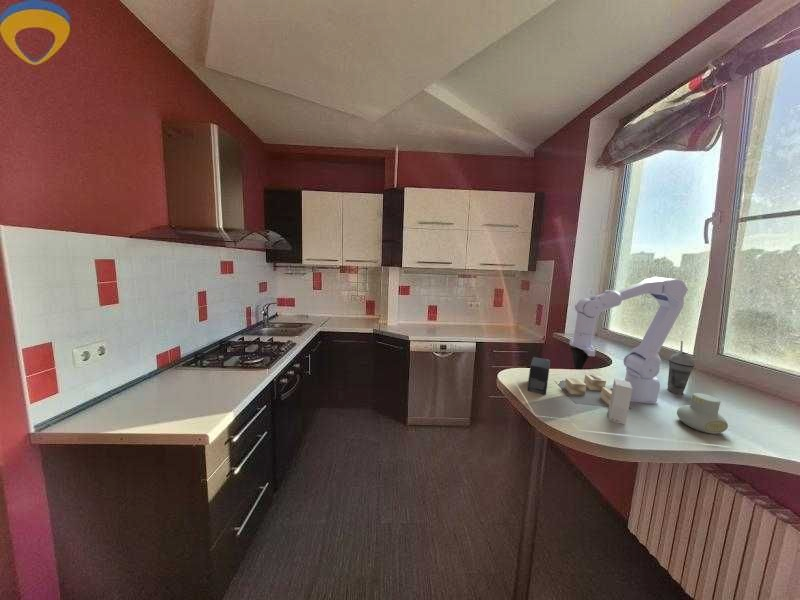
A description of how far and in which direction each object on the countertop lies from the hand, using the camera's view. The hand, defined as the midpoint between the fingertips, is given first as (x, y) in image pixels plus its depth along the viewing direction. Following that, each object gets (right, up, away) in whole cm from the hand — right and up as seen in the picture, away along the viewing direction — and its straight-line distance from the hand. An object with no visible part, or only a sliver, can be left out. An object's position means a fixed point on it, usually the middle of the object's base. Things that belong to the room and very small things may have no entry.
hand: (578, 368), depth 108 cm
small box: (-13, -9, +3) cm, 16 cm away
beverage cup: (+42, -11, +8) cm, 44 cm away
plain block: (-1, -9, +2) cm, 9 cm away
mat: (+4, -10, +1) cm, 11 cm away
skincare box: (+3, -13, -15) cm, 20 cm away
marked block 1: (+10, -9, +6) cm, 14 cm away
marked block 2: (+9, -10, -5) cm, 15 cm away
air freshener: (+26, -14, -18) cm, 35 cm away
